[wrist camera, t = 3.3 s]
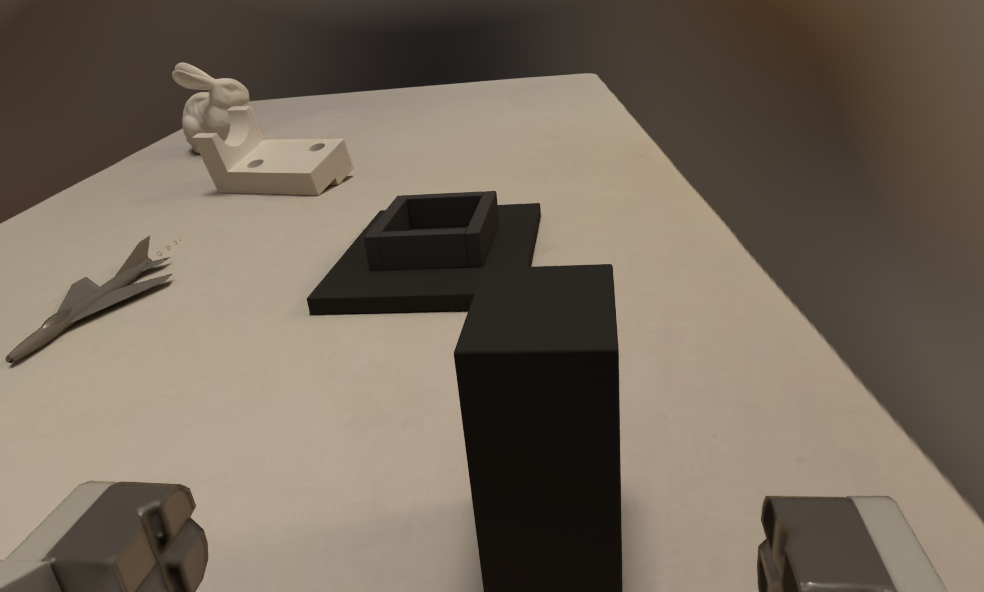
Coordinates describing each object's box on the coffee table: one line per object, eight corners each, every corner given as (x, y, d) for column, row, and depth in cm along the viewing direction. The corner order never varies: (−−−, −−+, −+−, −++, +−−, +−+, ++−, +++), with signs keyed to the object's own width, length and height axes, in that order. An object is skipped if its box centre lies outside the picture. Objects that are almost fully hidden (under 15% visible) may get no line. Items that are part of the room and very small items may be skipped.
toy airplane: (-48, 370, 44) (-63, 337, 43) (140, 246, 63) (132, 221, 62) (66, 367, 43) (53, 333, 42) (222, 242, 62) (216, 217, 61)
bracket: (222, 199, 78) (192, 137, 74) (258, 166, 83) (231, 106, 79) (321, 203, 74) (296, 137, 69) (353, 168, 79) (331, 104, 74)
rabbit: (268, 147, 97) (248, 55, 92) (205, 164, 91) (179, 66, 86) (222, 140, 105) (201, 55, 100) (160, 155, 99) (135, 65, 94)
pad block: (617, 494, 29) (612, 263, 24) (623, 619, 23) (618, 349, 19) (505, 492, 29) (482, 267, 25) (486, 613, 24) (453, 352, 20)
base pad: (540, 216, 61) (538, 173, 59) (522, 309, 45) (518, 254, 43) (382, 223, 63) (375, 182, 61) (309, 314, 47) (298, 262, 45)
